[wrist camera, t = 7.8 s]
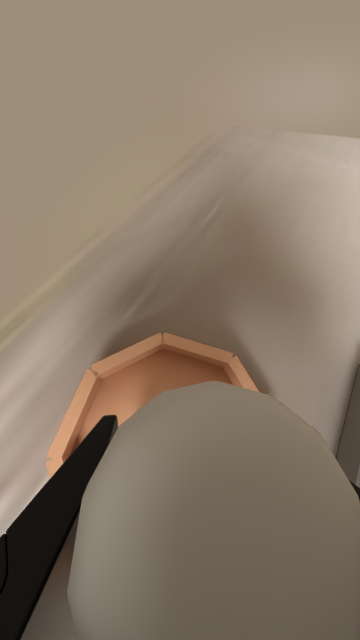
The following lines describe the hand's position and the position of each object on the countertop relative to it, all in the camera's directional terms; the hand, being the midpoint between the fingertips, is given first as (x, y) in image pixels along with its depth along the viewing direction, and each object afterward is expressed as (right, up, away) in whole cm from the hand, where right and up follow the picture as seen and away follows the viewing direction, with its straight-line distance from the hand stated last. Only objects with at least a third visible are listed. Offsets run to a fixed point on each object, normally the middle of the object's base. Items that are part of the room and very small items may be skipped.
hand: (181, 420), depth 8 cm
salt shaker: (0, -5, +7) cm, 8 cm away
